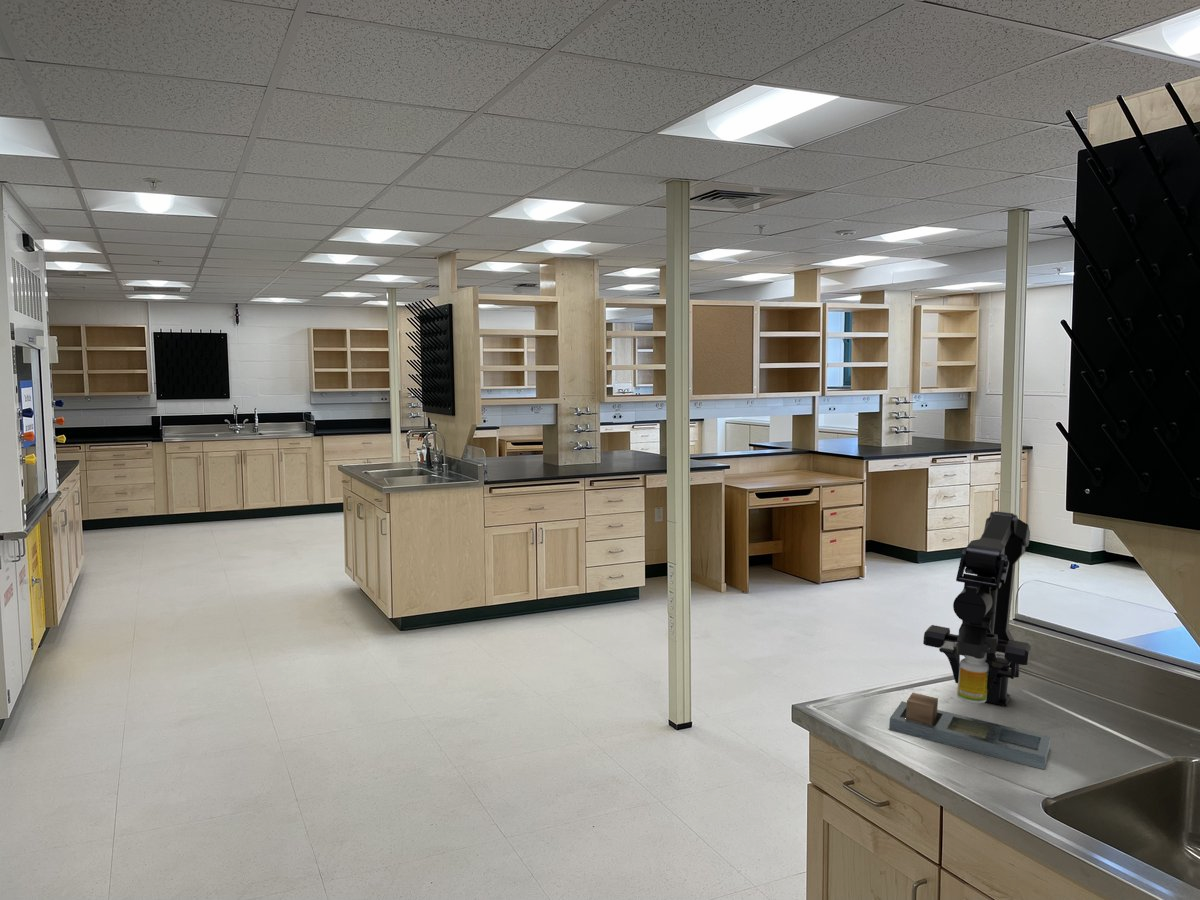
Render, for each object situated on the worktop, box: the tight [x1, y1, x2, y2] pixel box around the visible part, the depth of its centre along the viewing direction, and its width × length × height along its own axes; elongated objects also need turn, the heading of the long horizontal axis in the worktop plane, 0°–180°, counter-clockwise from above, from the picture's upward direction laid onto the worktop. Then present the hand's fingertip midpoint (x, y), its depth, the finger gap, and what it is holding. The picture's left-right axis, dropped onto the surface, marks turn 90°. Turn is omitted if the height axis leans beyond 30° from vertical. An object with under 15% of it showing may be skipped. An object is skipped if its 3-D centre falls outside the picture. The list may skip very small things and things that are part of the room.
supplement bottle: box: [956, 653, 989, 705], centre depth 169 cm, size 5×5×10 cm
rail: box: [888, 700, 1052, 770], centre depth 170 cm, size 10×28×2 cm, turn 58°
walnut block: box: [906, 692, 939, 726], centre depth 175 cm, size 5×5×6 cm
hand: (972, 686), depth 169 cm, fingers closed on supplement bottle, 5 cm apart
